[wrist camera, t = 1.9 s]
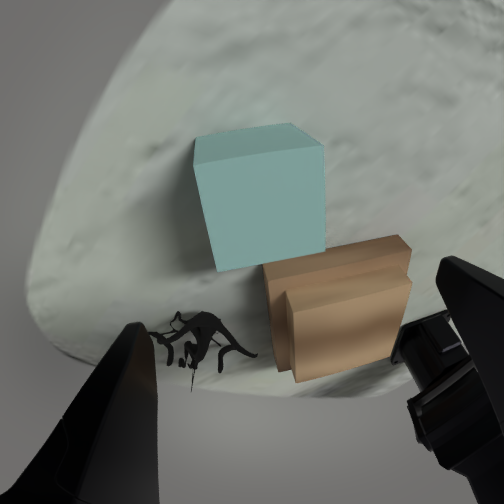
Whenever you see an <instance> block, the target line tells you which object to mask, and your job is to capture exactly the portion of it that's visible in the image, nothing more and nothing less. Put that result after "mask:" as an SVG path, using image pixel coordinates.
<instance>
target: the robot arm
mask: <svg viewBox="0 0 504 504" xmlns="http://www.w3.org/2000/svg"><path fill="white" fill-rule="evenodd" d="M436 285H437V288H438V290H439V292H440V294H441V296H442V298H443V300H444V303H445V305H446V307H447V309H448V310H446V311H443V312H440V313H438V314H435V315H432V316H430V317H427V318H424V319H421V320H418V321H416V322H413V323H410V324H407V325H405V326H404V327H403V328H402V330H401V333H400V336H399V339H398V342H397V345H396V348H395V351H394V353H393V356H392V359H391V363H392V365H396V364H398V363H401V362H405V364H406V366H407V367H408V369H409V371H410V373H411V375H412V377H413V379H414V380H415V382H416V384H417V386H418V388H419V390H420V393H419V394H417V395H416V396H415V397H413V398H410V399H409V400H407V403H408V406H407V408H408V410H409V413H410V415H411V418H412V421H413V424H414V429H415V434H416V440H417V442H418V443H420V444H423V445H424V446H425V447H426V448H427V450H428V451H430V452H431V451H433V452H434V454H435V456H436V458H437V459H438V462H439V464H440V465H441V466H442V467H444V468H445V469H447V470H450V469H451V470H453V471H455V472H457V473H459V474H461V475H463V476H465V477H467V479H468V481H469V483H470V485H471V488H472V490H473V493H474V495H475V498H476V500H477V503H478V504H504V279H502V278H500V277H498V276H496V275H494V274H492V273H490V272H488V271H486V270H484V269H482V268H479V267H477V266H475V265H473V264H471V263H469V262H466V261H464V260H462V259H460V258H457V257H455V256H448V257H444V258H442V260H441V261H440V265H439V268H438V272H437V275H436ZM450 318H451V319H452V321H453V323H454V325H455V327H456V329H457V331H458V333H459V335H460V336H461V338H462V340H463V342H464V344H465V346H466V348H467V350H468V352H469V355H468V353H467V352H466V351H465V349H464V347H463V346H462V344H461V343H462V342H461V340H460V339H459V337H458V336H457V334H456V333H455V332H454V330H453V329H452V327H451V326H450V325H449V323H448V322H449V320H450ZM477 371H478V372H477ZM157 410H158V395H157V381H156V369H155V354H154V345H153V341H152V339H151V337H150V336H149V334H148V332H147V330H146V328H145V326H144V324H143V323H142V322H134V323H129V324H127V325H126V326H125V328H124V329H123V330H122V332H121V333H120V334H119V336H118V337H117V338H116V340H115V341H114V343H113V344H112V345H111V347H110V348H109V349H108V351H107V352H106V354H105V355H104V356H103V358H102V359H101V361H100V362H99V363H98V365H97V366H96V368H95V369H94V371H93V372H92V373H91V375H90V377H89V378H88V379H87V381H86V382H85V384H84V385H83V386H82V388H81V389H80V391H79V392H78V394H77V396H76V397H75V398H74V400H73V401H72V403H71V404H70V406H69V407H68V409H67V410H66V412H65V413H64V415H63V416H62V418H63V419H60V421H59V422H58V424H57V425H56V427H55V429H54V430H53V431H52V433H51V434H50V436H49V437H48V439H47V440H46V442H45V443H44V445H43V446H42V447H41V449H40V450H39V451H38V453H37V454H36V456H35V457H34V458H33V459H32V461H31V462H30V463H29V465H28V466H27V468H26V469H25V470H24V471H23V473H22V474H21V475H20V477H19V478H18V479H17V481H16V482H15V483H14V484H13V485H12V487H11V488H9V489H8V490H7V491H6V492H4V493H3V494H1V495H0V504H160V502H159V485H158V454H157V452H158V451H157Z"/></svg>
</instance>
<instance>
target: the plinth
mask: <svg viewBox="0 0 504 504" xmlns="http://www.w3.org/2000/svg"><path fill="white" fill-rule="evenodd" d="M411 252H412V249H411V248H410V247H409V246H408V245H407V244H406V243H405V242H404V241H403V240H402V238H401V237H400V236H399V235H398V234H397V235H392V236H388V237H383V238H378V239H373V240H368V241H363V242H358V243H353V244H348V245H343V246H338V247H333V248H328V249H325V252H320V253H315V254H310V255H305V256H300V257H295V258H289V259H284V260H279V261H274V262H269V263H264V264H262V266H263V274H264V282H265V289H266V297H267V305H268V313H269V320H270V328H271V336H272V344H273V352H274V357H275V361H276V365H277V369H278V372H283V371H287V370H292V372H293V375H294V379H295V382H296V383H300V382H304V381H308V380H312V379H316V378H320V377H324V376H327V375H331V374H335V373H338V372H342V371H345V370H349V369H352V368H355V367H359V366H362V365H365V364H368V363H372V362H375V361H378V360H381V359H384V358H387V357H390V355H391V352H392V349H393V346H394V343H395V340H396V337H397V334H398V331H399V328H400V325H401V322H402V318H403V315H404V312H405V308H406V305H407V301H408V298H409V294H410V290H411V286H412V281H411V280H410V279H409V278H408V276H407V271H408V266H409V262H410V257H411Z"/></svg>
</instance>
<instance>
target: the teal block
mask: <svg viewBox="0 0 504 504" xmlns="http://www.w3.org/2000/svg"><path fill="white" fill-rule="evenodd" d="M193 167H194V172H195V176H196V181H197V186H198V190H199V195H200V199H201V204H202V208H203V213H204V217H205V222H206V226H207V230H208V235H209V239H210V243H211V247H212V252H213V256H214V260H215V264H216V268H217V272H222V271H227V270H232V269H238V268H243V267H248V266H253V265H258V264H264V263H269V262H274V261H279V260H284V259H289V258H295V257H300V256H305V255H310V254H315V253H320V252H325V232H326V217H325V165H324V145H323V144H321V143H320V142H318V141H317V140H315V139H314V138H312V137H311V136H310V135H308V134H307V133H305V132H304V131H302V130H301V129H299V128H298V127H296V126H295V125H293V124H292V123H284V124H276V125H268V126H261V127H254V128H247V129H240V130H234V131H228V132H222V133H217V134H211V135H206V136H201V137H196V141H195V151H194V162H193Z"/></svg>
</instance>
